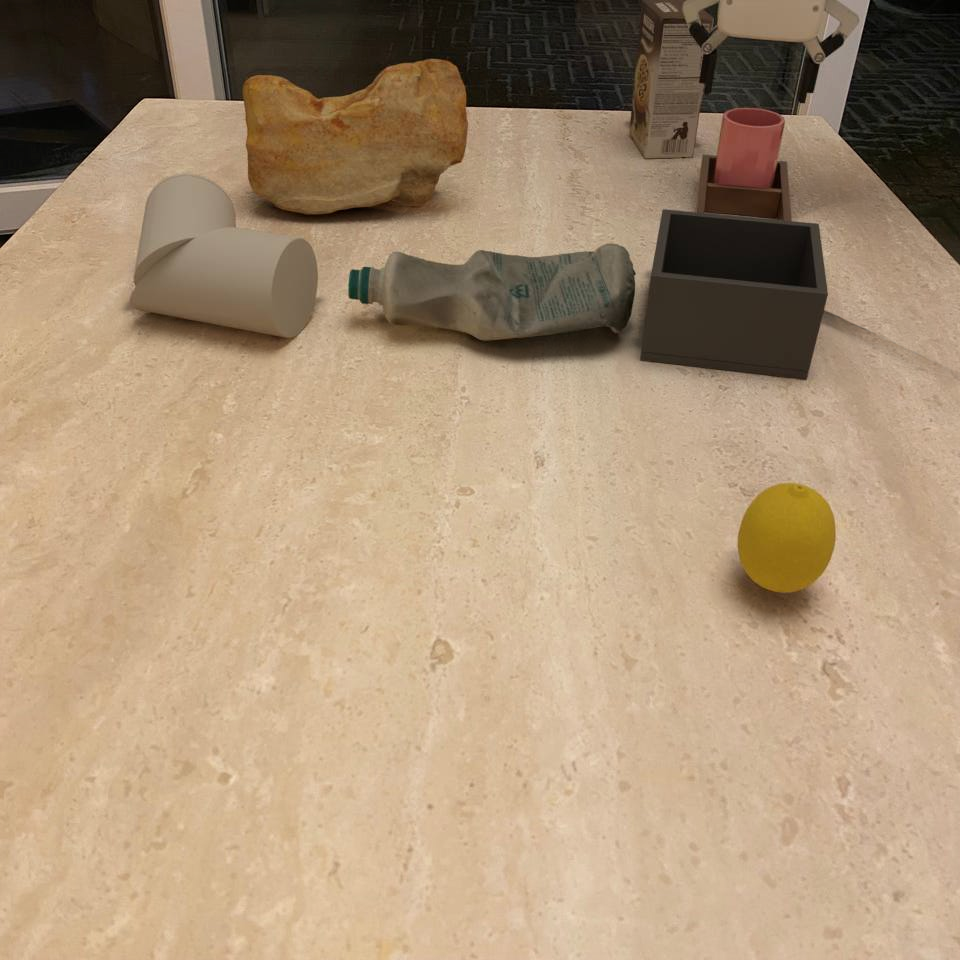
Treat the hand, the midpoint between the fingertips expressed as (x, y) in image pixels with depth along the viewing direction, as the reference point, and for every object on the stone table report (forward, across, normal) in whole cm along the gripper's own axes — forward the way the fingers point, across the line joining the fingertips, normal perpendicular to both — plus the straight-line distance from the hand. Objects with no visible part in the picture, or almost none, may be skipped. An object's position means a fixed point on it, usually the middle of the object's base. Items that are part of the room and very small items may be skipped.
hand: (753, 95), depth 105 cm
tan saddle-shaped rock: (+12, +41, +8) cm, 43 cm away
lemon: (+11, -3, +63) cm, 64 cm away
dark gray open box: (+11, 0, +31) cm, 33 cm away
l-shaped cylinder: (+12, +46, +35) cm, 59 cm away
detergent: (+12, +21, +34) cm, 42 cm away
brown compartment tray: (+11, -1, +4) cm, 12 cm away
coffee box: (+12, +9, -15) cm, 21 cm away
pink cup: (+11, -1, 0) cm, 11 cm away
